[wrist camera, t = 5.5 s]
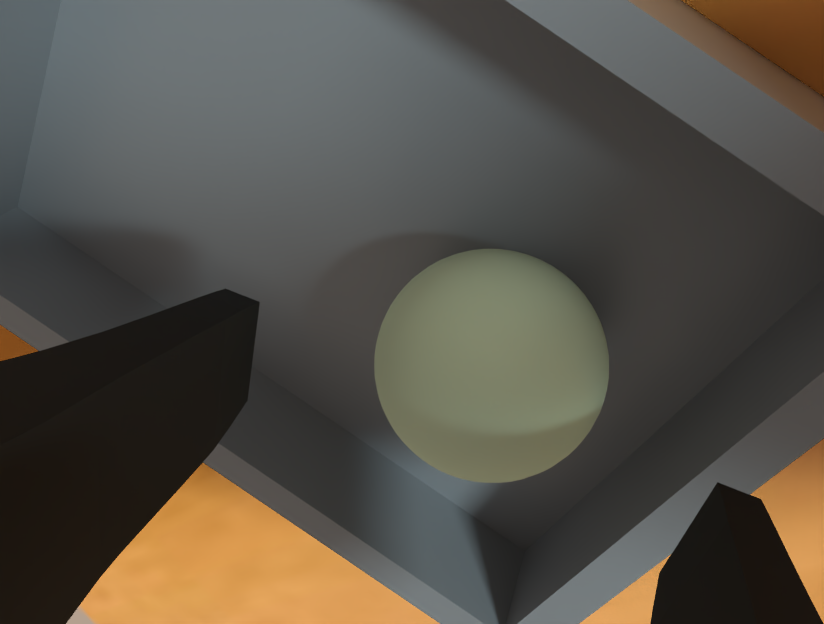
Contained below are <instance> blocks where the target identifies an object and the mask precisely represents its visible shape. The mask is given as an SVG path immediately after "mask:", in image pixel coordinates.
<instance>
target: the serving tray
mask: <svg viewBox="0 0 824 624" xmlns="http://www.w3.org/2000/svg"><path fill="white" fill-rule="evenodd" d="M477 249H503V250H511V251H516V252H520V253H524V254H527V255H530V256H533V257H535V258H538V259H540V260H542V261H544V262H546V263H548V264H550V265H552V266H553V267H555V268H556V269H558V270H559V271H561V272H562V273H563V274H565V275H566V276H567V277H568V278H569V279H570V280H572V281H573V282H574V283H575V284H576V285H577V286H578V287H579V289H580V290H581V291H582V292H583V293H584V294H585V296H586V297H587V299H588V300H589V302H590V303H591V305H592V306H593V308H594V310H595V312H596V314H597V316H598V318H599V320H600V322H601V325H602V328H603V331H604V334H605V338H606V342H607V347H608V353H609V380H608V386H607V392H606V396H605V400H604V403H603V406H602V408H601V411H600V413H599V415H598V417H597V419H596V421H595V423H594V425H593V427H592V428H591V430H590V432H589V433H588V434H587V436H586V437H585V438H584V440H583V441H582V442H581V443H580V444H579V445H578V447H577V448H576V449H575V450H574V451H572V452H571V453H570V454H569V455H568V456H567V457H566V458H564V459H563V460H561V461H560V462H558V463H557V464H555V465H554V466H553V467H551V468H549V469H547V470H545V471H543V472H541V473H539V474H536V475H533V476H530V477H527V478H525V479H521V480H517V481H512V482H503V483H482V482H473V481H469V480H464V479H460V478H457V477H454V476H451V475H449V474H446V473H444V472H441V471H440V470H438V469H436V468H434V467H432V466H431V465H429V464H428V463H426V462H425V461H423V460H422V459H421V458H419V457H418V456H417V455H416V454H415V453H413V452H412V451H411V450H410V449H409V448H408V447H407V446H406V445H405V444H404V443H403V441H402V440H401V439H400V438H399V436H398V435H397V434H396V433H395V431H394V429H393V428H392V426H391V425H390V423H389V421H388V419H387V417H386V415H385V413H384V410H383V408H382V406H381V403H380V400H379V396H378V392H377V387H376V381H375V372H374V356H375V348H376V342H377V338H378V334H379V331H380V327H381V324H382V322H383V320H384V318H385V315H386V313H387V311H388V309H389V307H390V305H391V304H392V302H393V301H394V299H395V298H396V297H397V295H398V294H399V293H400V291H401V290H402V289H403V288H404V287H405V286H406V285H407V284H408V283H409V282H410V281H411V279H413V278H414V277H415V276H416V275H418V274H419V273H420V272H422V271H423V270H424V269H426V268H427V267H429V266H430V265H432V264H434V263H436V262H437V261H439V260H441V259H444V258H447V257H449V256H452V255H454V254H457V253H461V252H465V251H470V250H477ZM225 288H226V289H228V290H231V291H233V292H236V293H238V294H241V295H243V296H246V297H248V298H251V299H254V300H256V301H259V302H260V305H259V313H258V321H257V329H256V337H255V345H254V353H253V361H252V369H251V377H250V385H249V393H248V401H247V402H246V404H245V405H244V407H243V408H242V410H241V411H240V413H239V414H238V416H237V417H236V419H235V420H234V422H233V423H232V425H231V426H230V428H229V429H228V430H227V432H226V433H225V435H224V436H223V437H222V439H221V440H220V442H219V443H218V444H217V446H216V447H215V449H214V450H213V451H212V452H211V453H210V455H209V456H208V457H207V458H206V459H205V460H204V461H203V463H205V464H206V465H208V466H209V467H211V468H212V469H214V470H215V471H217V472H218V473H219V474H221V475H222V476H224V477H225V478H227V479H228V480H230V481H231V482H233V483H234V484H236V485H237V486H239V487H240V488H242V489H243V490H244V491H246V492H247V493H249V494H250V495H252V496H253V497H255V498H256V499H258V500H259V501H261V502H262V503H264V504H265V505H267V506H268V507H270V508H271V509H272V510H274V511H275V512H277V513H278V514H280V515H281V516H283V517H284V518H286V519H287V520H289V521H290V522H292V523H293V524H295V525H296V526H297V527H299V528H300V529H302V530H303V531H305V532H306V533H308V534H309V535H311V536H312V537H314V538H315V539H317V540H318V541H320V542H321V543H322V544H324V545H325V546H327V547H328V548H330V549H331V550H333V551H334V552H336V553H337V554H339V555H340V556H342V557H343V558H345V559H346V560H348V561H349V562H350V563H352V564H353V565H355V566H356V567H358V568H359V569H361V570H362V571H364V572H365V573H367V574H368V575H370V576H371V577H373V578H374V579H375V580H377V581H378V582H380V583H381V584H383V585H384V586H386V587H387V588H389V589H390V590H392V591H393V592H395V593H396V594H398V595H399V596H401V597H402V598H403V599H405V600H406V601H408V602H409V603H411V604H412V605H414V606H415V607H417V608H418V609H420V610H421V611H423V612H424V613H426V614H427V615H428V616H430V617H431V618H433V619H434V620H436V621H437V622H439V623H440V624H579V623H580V622H582V621H583V620H584V619H586V618H587V617H588V616H590V615H591V614H592V613H594V612H595V611H596V610H598V609H599V608H600V607H602V606H603V605H604V604H605V603H607V602H608V601H609V600H611V599H612V598H613V597H615V596H616V595H617V594H619V593H620V592H621V591H623V590H624V589H625V588H627V587H628V586H629V585H631V584H632V583H633V582H635V581H636V580H637V579H639V578H640V577H641V576H643V575H644V574H645V573H646V572H648V571H649V570H650V569H652V568H653V567H654V566H656V565H657V564H658V563H660V562H661V561H662V560H664V559H665V558H666V557H668V556H669V555H670V554H672V553H673V551H674V549H675V548H676V546H677V545H678V543H679V542H680V540H681V538H682V537H683V535H684V534H685V532H686V531H687V529H688V528H689V526H690V524H691V523H692V521H693V520H694V518H695V517H696V515H697V513H698V512H699V510H700V509H701V507H702V506H703V504H704V502H705V501H706V499H707V498H708V496H709V495H710V493H711V491H712V490H713V488H714V487H715V485H716V484H717V482H718V483H721V484H724V485H726V486H729V487H731V488H734V489H736V490H739V491H741V492H744V493H746V494H749V495H750V494H751V493H752V492H754V491H755V490H756V489H758V488H759V487H760V486H761V485H763V484H764V483H765V482H767V481H768V480H769V479H771V478H772V477H773V476H775V475H776V474H777V473H779V472H780V471H781V470H783V469H784V468H785V467H787V466H788V465H789V464H791V463H792V462H793V461H795V460H796V459H797V458H799V457H800V456H801V455H802V454H804V453H805V452H806V451H808V450H809V449H810V448H812V447H813V446H814V445H816V444H817V443H818V442H820V441H821V440H822V439H824V97H823V96H822V95H820V94H819V93H817V92H816V91H814V90H813V89H811V88H810V87H808V86H807V85H805V84H804V83H802V82H801V81H799V80H798V79H797V78H795V77H794V76H792V75H791V74H789V73H788V72H786V71H785V70H783V69H782V68H780V67H779V66H777V65H776V64H774V63H773V62H771V61H770V60H768V59H767V58H765V57H764V56H763V55H761V54H760V53H758V52H757V51H755V50H754V49H752V48H751V47H749V46H748V45H746V44H745V43H743V42H742V41H740V40H739V39H737V38H736V37H734V36H733V35H731V34H730V33H729V32H727V31H726V30H724V29H723V28H721V27H720V26H718V25H717V24H715V23H714V22H712V21H711V20H709V19H708V18H706V17H705V16H703V15H702V14H700V13H699V12H697V11H696V10H695V9H693V8H692V7H690V6H689V5H687V4H686V3H684V2H683V1H681V0H0V325H2V326H3V327H5V328H6V329H7V330H9V331H10V332H12V333H13V334H15V335H16V336H18V337H19V338H21V339H22V340H24V341H25V342H27V343H28V344H30V345H31V346H32V347H34V348H35V349H37V350H38V351H41V350H45V349H48V348H51V347H54V346H58V345H61V344H64V343H67V342H71V341H74V340H77V339H80V338H84V337H87V336H90V335H93V334H97V333H100V332H103V331H106V330H109V329H112V328H115V327H118V326H120V325H123V324H126V323H129V322H132V321H135V320H137V319H140V318H143V317H146V316H149V315H152V314H154V313H157V312H160V311H163V310H165V309H168V308H171V307H174V306H176V305H179V304H182V303H184V302H187V301H190V300H193V299H195V298H198V297H201V296H204V295H207V294H210V293H213V292H216V291H219V290H222V289H225Z"/></svg>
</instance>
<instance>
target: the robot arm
mask: <svg viewBox="0 0 824 624" xmlns="http://www.w3.org/2000/svg"><path fill="white" fill-rule="evenodd" d="M259 305H260V302H259V301H256V300H254V299H251V298H248V297H246V296H243V295H241V294H238V293H236V292H233V291H231V290H228V289H226V288H225V289H222V290H219V291H216V292H213V293H210V294H207V295H204V296H201V297H198V298H195V299H193V300H190V301H187V302H184V303H182V304H179V305H176V306H174V307H171V308H168V309H165V310H163V311H160V312H157V313H154V314H152V315H149V316H146V317H143V318H140V319H137V320H135V321H132V322H129V323H126V324H123V325H120V326H118V327H115V328H112V329H109V330H106V331H103V332H100V333H97V334H93V335H90V336H87V337H84V338H80V339H77V340H74V341H71V342H67V343H64V344H61V345H58V346H54V347H51V348H48V349H45V350H41V351H38V352H35V353H31V354H27V355H23V356H20V357H16V358H12V359H8V360H4V361H0V624H66V623H67V621H68V620H69V619H70V617H71V616H72V615H73V613H74V612H75V610H76V609H77V608H78V606H79V605H80V604H81V602H82V601H83V600H84V598H85V597H86V596H87V594H88V593H89V592H90V590H91V589H92V588H93V586H94V585H95V584H96V582H97V581H98V580H99V578H100V577H101V576H102V574H103V573H104V572H105V571H106V570H107V569H108V567H109V566H110V565H111V564H112V563H113V561H114V560H115V559H116V558H117V557H118V555H119V554H120V553H121V552H122V551H123V550H124V549H125V547H126V546H127V545H128V544H129V543H130V542H131V541H132V540H133V539H134V538H135V536H136V535H137V534H138V533H139V532H140V531H141V530H142V529H143V528H144V527H145V526H146V524H147V523H148V522H149V521H150V520H151V519H152V518H153V517H154V516H155V515H156V513H157V512H158V511H159V510H160V509H161V508H162V507H163V506H164V505H165V504H166V502H167V501H168V500H169V499H170V498H171V497H172V496H173V495H174V494H175V493H176V491H177V490H178V489H179V488H180V487H181V486H182V485H183V484H184V483H185V482H186V480H187V479H188V478H189V477H190V476H191V475H192V474H193V473H194V471H195V470H196V469H197V468H198V467H199V466H200V465H201V464H202V463H203V461H204V460H205V459H206V458H207V457H208V456H209V455H210V453H211V452H212V451H213V450H214V449H215V447H216V446H217V444H218V443H219V442H220V440H221V439H222V437H223V436H224V435H225V433H226V432H227V430H228V429H229V428H230V426H231V425H232V423H233V422H234V420H235V419H236V417H237V416H238V414H239V413H240V411H241V410H242V408H243V407H244V405H245V404H246V402H247V401H248V393H249V385H250V377H251V369H252V361H253V353H254V345H255V337H256V329H257V321H258V313H259ZM651 624H823V622H822V620H821V618H820V616H819V614H818V612H817V611H816V609H815V607H814V605H813V603H812V601H811V599H810V597H809V595H808V593H807V591H806V589H805V587H804V585H803V583H802V581H801V579H800V577H799V575H798V573H797V571H796V569H795V567H794V565H793V563H792V561H791V559H790V557H789V555H788V553H787V551H786V549H785V547H784V545H783V543H782V540H781V538H780V536H779V534H778V532H777V530H776V528H775V526H774V524H773V522H772V520H771V518H770V516H769V514H768V512H767V510H766V508H765V506H764V504H763V502H762V500H761V499H759V498H757V497H754V496H751V495H749V494H746V493H744V492H741V491H739V490H736V489H734V488H731V487H729V486H726V485H724V484H721V483H718V482H717V484H716V485H715V487H714V488H713V490H712V491H711V493H710V495H709V496H708V498H707V499H706V501H705V502H704V504H703V506H702V507H701V509H700V510H699V512H698V513H697V515H696V517H695V518H694V520H693V521H692V523H691V524H690V526H689V528H688V529H687V531H686V532H685V534H684V535H683V537H682V538H681V540H680V542H679V543H678V545H677V546H676V548H675V549H674V551H673V553H672V554H671V556H670V557H669V559H668V560H667V562H666V564H665V565H664V567H663V568H662V570H661V571H660V573H659V579H658V584H657V589H656V595H655V600H654V606H653V612H652V618H651Z"/></svg>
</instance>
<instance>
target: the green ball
mask: <svg viewBox="0 0 824 624" xmlns="http://www.w3.org/2000/svg"><path fill="white" fill-rule="evenodd" d="M374 372H375V381H376V387H377V392H378V396H379V400H380V403H381V406H382V408H383V410H384V413H385V415H386V417H387V419H388V421H389V423H390V425H391V426H392V428H393V429H394V431H395V433H396V434H397V435H398V436H399V438H400V439H401V440H402V441H403V443H404V444H405V445H406V446H407V447H408V448H409V449H410V450H411V451H412V452H413V453H415V454H416V455H417V456H418V457H419V458H421V459H422V460H423V461H425V462H426V463H428V464H429V465H431V466H432V467H434V468H436V469H438V470H440V471H441V472H444V473H446V474H449V475H451V476H454V477H457V478H460V479H464V480H469V481H473V482H482V483H503V482H512V481H517V480H521V479H525V478H527V477H530V476H533V475H536V474H539V473H541V472H543V471H545V470H547V469H549V468H551V467H553V466H554V465H555V464H557V463H558V462H560V461H561V460H563V459H564V458H566V457H567V456H568V455H569V454H570V453H571V452H572V451H574V450H575V449H576V448H577V447H578V445H579V444H580V443H581V442H582V441H583V440H584V438H585V437H586V436H587V434H588V433H589V432H590V430H591V428H592V427H593V425H594V423H595V421H596V419H597V417H598V415H599V413H600V411H601V408H602V406H603V403H604V400H605V396H606V392H607V386H608V380H609V353H608V347H607V342H606V338H605V334H604V331H603V328H602V325H601V322H600V320H599V318H598V316H597V314H596V312H595V310H594V308H593V306H592V305H591V303H590V302H589V300H588V299H587V297H586V296H585V294H584V293H583V292H582V291H581V290H580V289H579V287H578V286H577V285H576V284H575V283H574V282H573V281H572V280H570V279H569V278H568V277H567V276H566V275H565V274H563V273H562V272H561V271H559V270H558V269H556V268H555V267H553V266H552V265H550V264H548V263H546V262H544V261H542V260H540V259H538V258H535V257H533V256H530V255H527V254H524V253H520V252H516V251H511V250H503V249H477V250H470V251H465V252H461V253H457V254H454V255H452V256H449V257H447V258H444V259H441V260H439V261H437V262H436V263H434V264H432V265H430V266H429V267H427V268H426V269H424V270H423V271H422V272H420V273H419V274H418V275H416V276H415V277H414V278H413V279H411V281H410V282H409V283H408V284H407V285H406V286H405V287H404V288H403V289H402V290H401V291H400V293H399V294H398V295H397V297H396V298H395V299H394V301H393V302H392V304H391V305H390V307H389V309H388V311H387V313H386V315H385V318H384V320H383V322H382V324H381V327H380V331H379V334H378V338H377V342H376V348H375V356H374Z"/></svg>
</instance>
